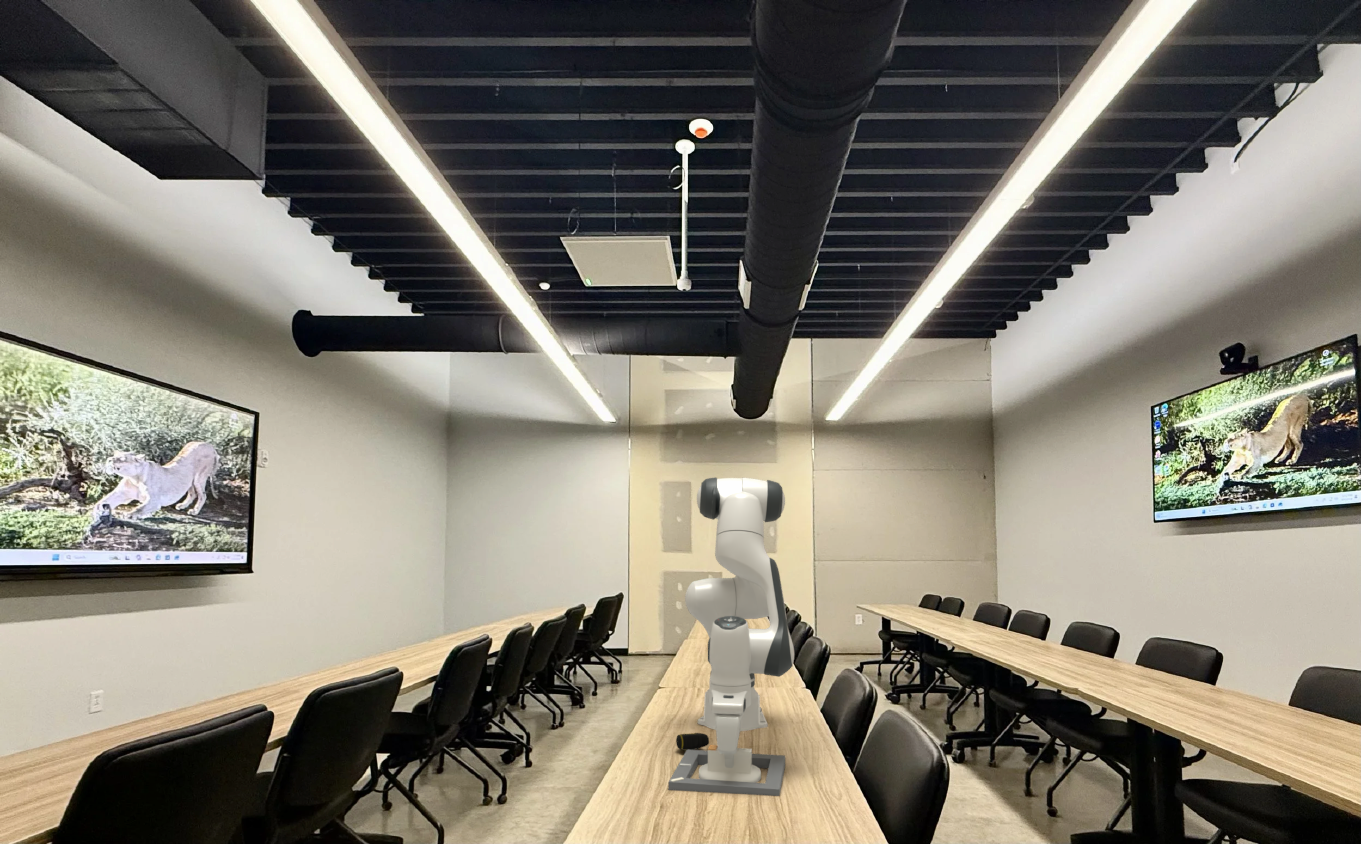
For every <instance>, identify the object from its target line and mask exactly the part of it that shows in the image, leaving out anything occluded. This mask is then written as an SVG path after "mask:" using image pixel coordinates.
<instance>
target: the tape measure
mask: <svg viewBox="0 0 1361 844" xmlns="http://www.w3.org/2000/svg"><path fill="white" fill-rule="evenodd" d="M709 742H710V737H709V735H708V734H705V733H702V732H701V733H700V732H695V733H694V732H693V733H692V732H691V733H681V734H677V735H676V738H675V744H676V747H677V749H679V750H683V751H684V752H686V751H687V750H700V749H701V748H705V747H706V746H708V745H709Z"/></svg>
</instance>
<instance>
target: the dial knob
mask: <svg viewBox="0 0 1361 844" xmlns="http://www.w3.org/2000/svg"><path fill="white" fill-rule="evenodd" d="M707 751H708V763H707V764H705V765H700V767H699V769H698V779H708V780H723V781H738V782H753V783H759V782H760V781H761V779H762V772H761V768H758V767H757V766H755V765H752V754H753V749H752V748H743V747H737V751H736V753H735V754H734V766H733V768H727V767H725V756H724V754H721V753H719V751H718V746H717V744H710V745H709V746H708V748H707Z"/></svg>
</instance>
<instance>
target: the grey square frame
mask: <svg viewBox="0 0 1361 844" xmlns="http://www.w3.org/2000/svg"><path fill="white" fill-rule="evenodd" d="M707 763H708V750H702V749H701V750H700V749H699V750H698V749H694V750H687V751H684V754H683V756H682V757H681V760H680V761H679V763H678V765H677V766H676V768H675V770H674V772H673V773H672V775H671V777H670V779H669V780H668V786H667V789H668V791H681V792H696V793H697V792H698V793H714V794H715V793H716V794H731V795H733V794H734V795H735V794H736V795H750V796H751V795H753V796H769V797H770V796H771V797H772V796H773V797H780V795H781V790H782V786H783V781H784V779H783V778H784V773H785V770H786V755H784V754H783V755H780V754H769V753H767V754H765V753H752V765H755V766H757V767H758V768H759V769H767V774H766V776H765V777H766V778H765V782H756V783H753V782H738V781H723V780H708V779H699V778H692V776H693V774H694V773H695V771H696V770H697V767H698V766H703V765H705V764H707Z"/></svg>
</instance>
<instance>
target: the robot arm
mask: <svg viewBox="0 0 1361 844" xmlns="http://www.w3.org/2000/svg"><path fill="white" fill-rule="evenodd" d="M696 504H697V507H698V510H699V513H700V514H701V515H702V516H703V517H704V518H706V519H709V520H715V519H716V520H717V523H716V534H715V536H716V537H715V548H714V549H715V550H714V557H715V560H716V562H717V563H718V565H720V566H721V567H722V568H724V569H725V570H726V571H728V572H729V573H730V574H733V575H734V577H723V578H722V577H713V578H712V577H709V578H708V577H707V578H703V579H699V580H694V581H692V582H691V583H690V584H689V585H688V587H687V588H686V590H685V591H686V592H685V595H684V604H685V607H686V609H687V611H688V612H689V614H690V615H691V616H692V617H693V618H695V619H696V620H697V621H698V622H699V623H700V624H701V625H702V626H703V628H704V629H705V631H706V633H707V636H708V641H707V662H708V663H709V664H710V667H711V669H710V676H709V682H708V683H709V686H708V687H709V688H708V689H707V690H706V692H704V700H703V701H704V704H703V705H704V706H703V715H702V716H701V717H699V718H698V719H697V724H698V725H699V726H700V725H701V726H705V727H707V728H709V729H711V730H715V735H716V736H715V737H716V745H717V746H718V751H719V753H721V754H724V756H725V767H727V768H733V766H734V754H735V753H736V751H737V748H738V744H739V739H740V733H741V732H746V731H752V730H757V729H764V728H768V727H769V725H768V722H767V719H766V718H765V715H764V712H763V711H762V710H763V709H762V707H761V706H760V705H761V704H760V702H761V699H760V697H761V696H760V694H759V692H758V691H757V690H756V688H755V685H756V683H755V682H756V676H755V674H757V675H758V674H759V675H761V674H762V675H764V676H765V675H766V676H771V677H781V676H784V675H785V674H786V673H787V672H788V671H789V670H791V669H792V667H793V664H794V660H795V648H794V643H793V640H792V637H791V633H790V630H789V626H788V619H787V613H786V605H785V600H784V594H783V593H784V592H783V586H782V581H781V576H780V572H779V571H780V570H779V567H778V565H777V562H776V560H775V559H773V558H772V557H770V556H769V554H768V553H767V551H766V547H765V543H764V542H765V540H764V539H765V530H764V529H765V528H764V527H765V526H764V524H765V523H770V522H776V521H777V520H778V519H780V518H781V516H782V514H783V511H784V509H785V505H786V497H785V493H784V490H783V486H782V485H781V484H780V483H779V482H776V481H774V480H769V479H767V480H763V479H759V478H758V479H757V478H750V477H742V478H741V477H740V478H739V477H723V478H722V477H721V478H718V477H708V478H705V479H704V480H703V481H702V482H701V485H700V486H699V487H698V490H697V493H696ZM767 617H768V620H769V627H767V628H749V623H748V621H747V620H758V619H763V618H767Z"/></svg>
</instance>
